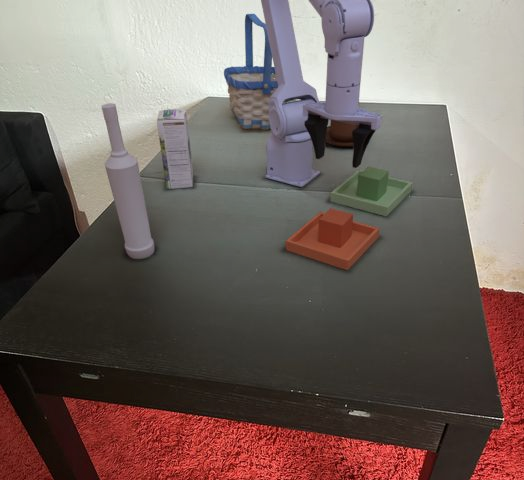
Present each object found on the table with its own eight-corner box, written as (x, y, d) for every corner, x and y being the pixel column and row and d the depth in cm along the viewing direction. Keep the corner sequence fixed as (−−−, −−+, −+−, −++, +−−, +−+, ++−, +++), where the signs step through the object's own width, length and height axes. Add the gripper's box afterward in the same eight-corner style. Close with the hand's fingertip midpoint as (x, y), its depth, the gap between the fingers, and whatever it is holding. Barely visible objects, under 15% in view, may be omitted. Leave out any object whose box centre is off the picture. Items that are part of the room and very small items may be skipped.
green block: (356, 196, 106) (358, 174, 103) (366, 187, 109) (368, 166, 106) (376, 201, 104) (379, 179, 101) (386, 192, 107) (389, 171, 104)
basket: (299, 131, 134) (300, 25, 118) (235, 139, 131) (228, 31, 115) (279, 105, 148) (278, 7, 132) (222, 111, 146) (214, 13, 130)
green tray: (330, 201, 106) (330, 192, 104) (357, 178, 113) (358, 169, 112) (386, 216, 100) (387, 207, 99) (411, 191, 108) (412, 182, 106)
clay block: (317, 241, 94) (318, 219, 91) (329, 230, 97) (330, 208, 94) (340, 248, 92) (342, 225, 89) (351, 236, 95) (353, 213, 92)
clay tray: (285, 250, 93) (285, 240, 92) (319, 220, 100) (320, 211, 99) (347, 270, 88) (348, 260, 86) (378, 237, 95) (379, 228, 94)
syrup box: (167, 178, 116) (156, 109, 106) (194, 176, 116) (185, 107, 106) (166, 189, 112) (154, 119, 102) (194, 187, 112) (185, 117, 102)
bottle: (160, 246, 95) (132, 101, 78) (147, 261, 92) (114, 113, 75) (135, 242, 97) (102, 98, 80) (121, 257, 93) (83, 110, 76)
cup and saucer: (377, 137, 129) (380, 111, 125) (356, 154, 122) (359, 127, 118) (333, 128, 134) (335, 103, 130) (311, 145, 127) (312, 118, 123)
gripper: (393, 81, 87) (383, 161, 97) (317, 70, 94) (314, 146, 103) (375, 94, 83) (366, 176, 92) (296, 81, 89) (296, 159, 99)
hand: (338, 161), depth 97 cm, fingers open, 7 cm apart
